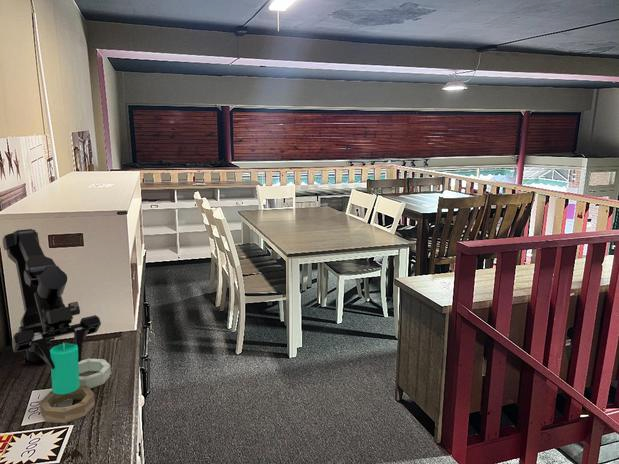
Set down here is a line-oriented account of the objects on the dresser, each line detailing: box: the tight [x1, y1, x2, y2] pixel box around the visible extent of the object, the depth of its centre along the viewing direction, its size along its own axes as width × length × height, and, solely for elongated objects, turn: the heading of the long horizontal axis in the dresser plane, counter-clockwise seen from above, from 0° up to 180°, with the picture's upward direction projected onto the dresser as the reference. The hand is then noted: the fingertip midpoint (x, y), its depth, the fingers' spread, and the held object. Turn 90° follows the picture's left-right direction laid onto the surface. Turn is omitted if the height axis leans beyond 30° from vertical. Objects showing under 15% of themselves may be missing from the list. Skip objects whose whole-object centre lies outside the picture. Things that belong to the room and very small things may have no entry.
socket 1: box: [39, 386, 95, 424], centre depth 110 cm, size 11×11×3 cm
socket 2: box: [79, 358, 112, 389], centre depth 124 cm, size 11×11×3 cm
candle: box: [50, 342, 80, 394], centre depth 109 cm, size 6×6×12 cm
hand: (66, 364), depth 108 cm, fingers closed on candle, 5 cm apart
